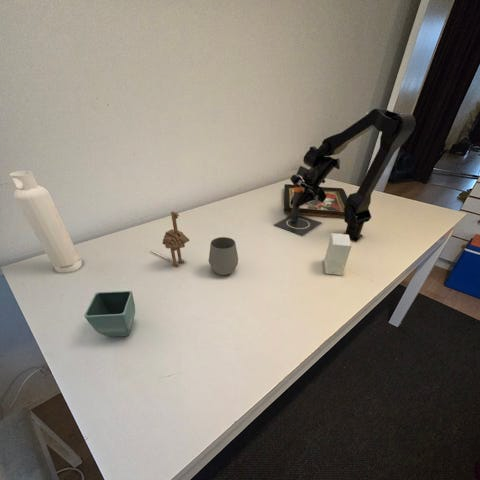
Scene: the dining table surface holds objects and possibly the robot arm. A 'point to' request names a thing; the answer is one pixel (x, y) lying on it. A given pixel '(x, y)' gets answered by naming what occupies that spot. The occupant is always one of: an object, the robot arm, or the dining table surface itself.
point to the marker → (295, 198)
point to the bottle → (45, 222)
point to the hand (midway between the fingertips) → (293, 205)
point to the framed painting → (318, 202)
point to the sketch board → (298, 225)
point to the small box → (337, 253)
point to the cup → (223, 255)
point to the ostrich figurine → (174, 240)
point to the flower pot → (111, 313)
